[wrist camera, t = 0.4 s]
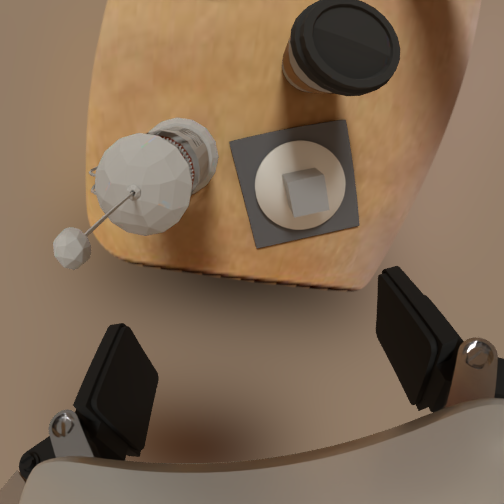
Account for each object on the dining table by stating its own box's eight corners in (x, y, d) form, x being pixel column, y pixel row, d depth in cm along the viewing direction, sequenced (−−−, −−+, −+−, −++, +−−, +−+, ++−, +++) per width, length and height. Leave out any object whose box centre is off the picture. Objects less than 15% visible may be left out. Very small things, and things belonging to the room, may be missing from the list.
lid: (336, 133, 31) (350, 137, 27) (348, 217, 36) (361, 232, 32) (245, 151, 32) (245, 157, 28) (265, 235, 37) (268, 253, 33)
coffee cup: (334, 109, 30) (394, 112, 17) (265, 90, 29) (283, 73, 16) (348, 49, 27) (412, 20, 13) (280, 28, 26) (307, -23, 12)
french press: (218, 196, 35) (182, 351, 13) (129, 198, 35) (8, 326, 12) (218, 116, 31) (159, 125, 8) (124, 122, 30) (-41, 167, 8)
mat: (344, 119, 31) (345, 119, 31) (358, 224, 37) (359, 225, 37) (229, 141, 32) (229, 142, 32) (256, 246, 38) (256, 248, 38)
